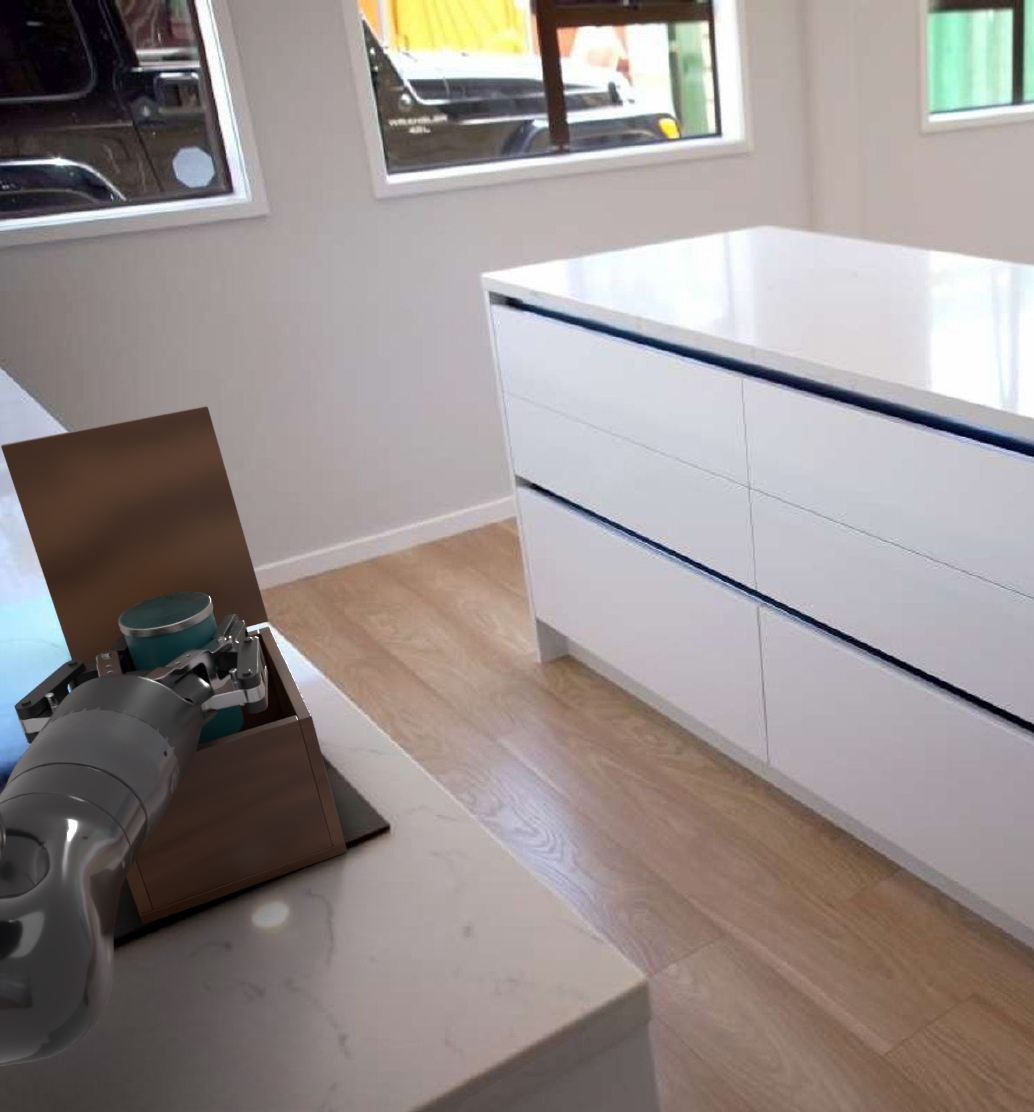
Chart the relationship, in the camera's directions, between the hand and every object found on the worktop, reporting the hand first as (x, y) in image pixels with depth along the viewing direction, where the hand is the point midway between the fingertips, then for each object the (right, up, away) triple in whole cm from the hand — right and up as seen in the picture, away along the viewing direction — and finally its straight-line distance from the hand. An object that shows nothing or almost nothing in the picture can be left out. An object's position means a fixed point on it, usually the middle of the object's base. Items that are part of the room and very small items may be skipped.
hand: (188, 633), depth 84 cm
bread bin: (0, -14, +5) cm, 15 cm away
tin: (+1, -7, 0) cm, 7 cm away
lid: (-5, +6, +4) cm, 9 cm away
